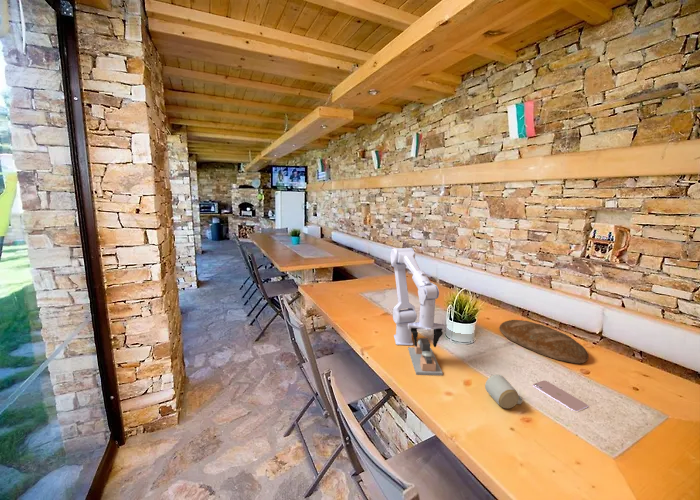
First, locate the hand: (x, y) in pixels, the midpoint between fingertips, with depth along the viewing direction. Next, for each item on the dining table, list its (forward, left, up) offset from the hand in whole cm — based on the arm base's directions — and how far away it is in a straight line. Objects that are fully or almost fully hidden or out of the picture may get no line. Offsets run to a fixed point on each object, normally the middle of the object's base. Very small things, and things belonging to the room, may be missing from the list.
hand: (425, 345), depth 121 cm
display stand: (0, 0, -7) cm, 7 cm away
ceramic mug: (+23, +22, -7) cm, 32 cm away
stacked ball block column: (0, 0, -3) cm, 3 cm away
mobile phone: (+19, +42, -8) cm, 47 cm away
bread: (-18, +57, -8) cm, 60 cm away
